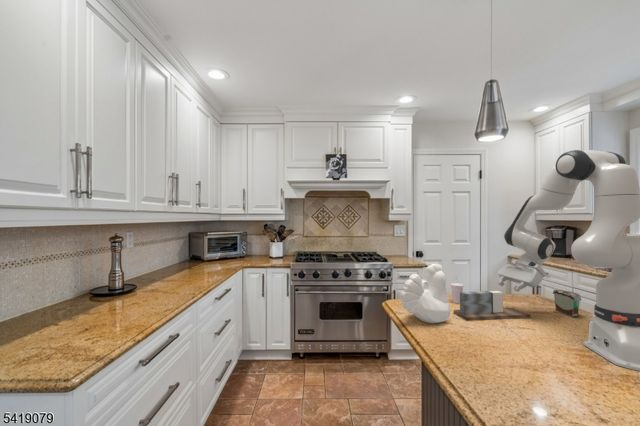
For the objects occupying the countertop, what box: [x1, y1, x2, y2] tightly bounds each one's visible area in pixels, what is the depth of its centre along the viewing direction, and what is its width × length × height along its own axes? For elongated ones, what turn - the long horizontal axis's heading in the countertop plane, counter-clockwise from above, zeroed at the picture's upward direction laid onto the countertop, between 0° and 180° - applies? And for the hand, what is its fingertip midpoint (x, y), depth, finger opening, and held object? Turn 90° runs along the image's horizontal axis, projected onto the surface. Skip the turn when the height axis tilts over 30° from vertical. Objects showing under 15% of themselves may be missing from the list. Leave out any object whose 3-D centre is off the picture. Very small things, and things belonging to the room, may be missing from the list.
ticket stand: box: [453, 290, 532, 322], centre depth 130 cm, size 31×10×11 cm, turn 97°
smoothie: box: [450, 275, 464, 305], centre depth 149 cm, size 6×6×14 cm
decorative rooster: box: [400, 263, 451, 324], centre depth 124 cm, size 25×16×25 cm, turn 105°
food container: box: [552, 289, 582, 319], centre depth 131 cm, size 12×6×10 cm, turn 179°
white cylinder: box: [488, 290, 504, 313], centre depth 130 cm, size 5×3×9 cm, turn 97°
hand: (507, 287), depth 131 cm, fingers open, 8 cm apart
